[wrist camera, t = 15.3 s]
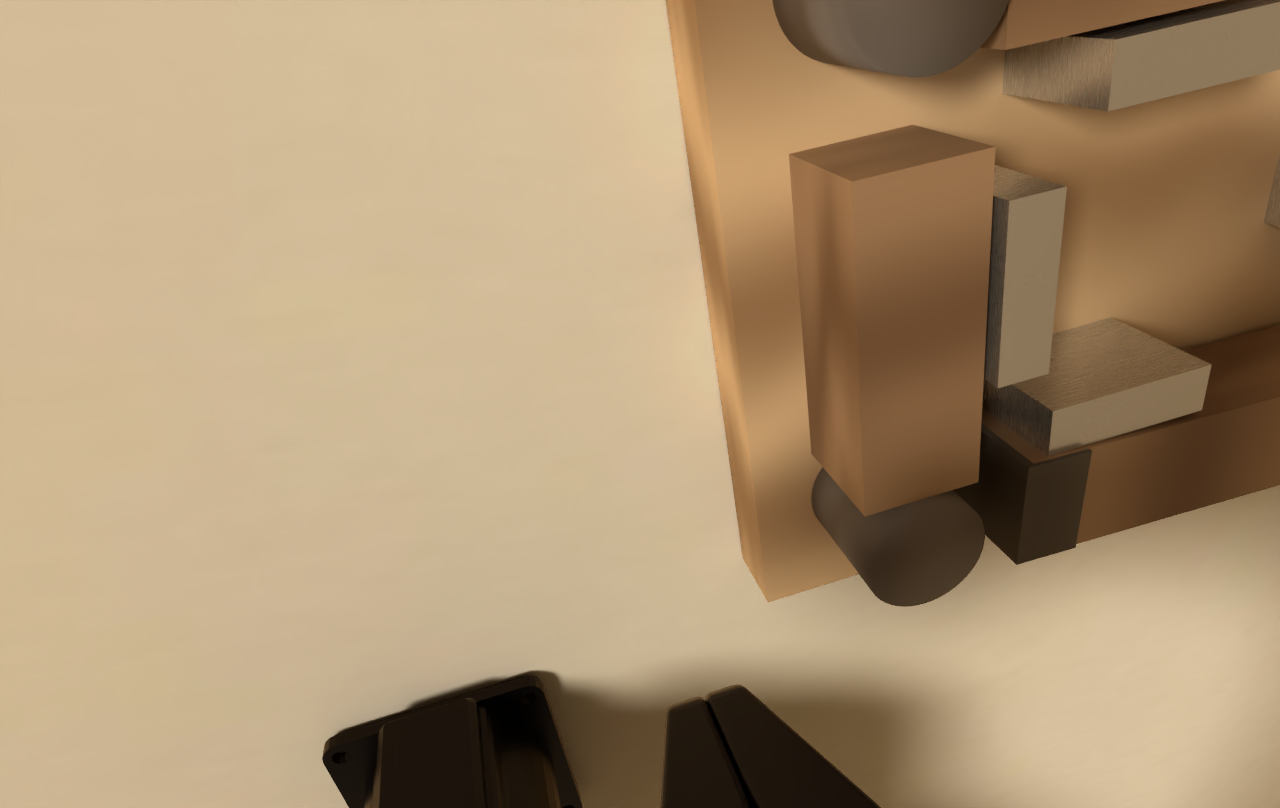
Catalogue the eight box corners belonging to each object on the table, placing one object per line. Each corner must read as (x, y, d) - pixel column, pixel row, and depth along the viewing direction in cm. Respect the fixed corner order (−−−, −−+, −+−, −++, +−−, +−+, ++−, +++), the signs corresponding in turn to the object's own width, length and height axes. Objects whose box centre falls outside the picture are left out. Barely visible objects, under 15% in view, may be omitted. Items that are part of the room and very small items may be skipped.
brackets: (1279, 308, 22) (1396, 350, 19) (919, 412, 20) (992, 473, 18) (1368, -50, 17) (1535, -57, 15) (921, 51, 16) (1018, 62, 13)
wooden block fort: (1308, 385, 26) (1482, 462, 22) (742, 558, 24) (813, 683, 19) (1509, -321, 17) (1866, -425, 13) (642, -168, 15) (732, -235, 11)
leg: (1383, 295, 22) (1512, 336, 19) (1350, 390, 23) (1466, 439, 21) (953, 405, 20) (1032, 467, 17) (946, 500, 21) (1018, 570, 19)
